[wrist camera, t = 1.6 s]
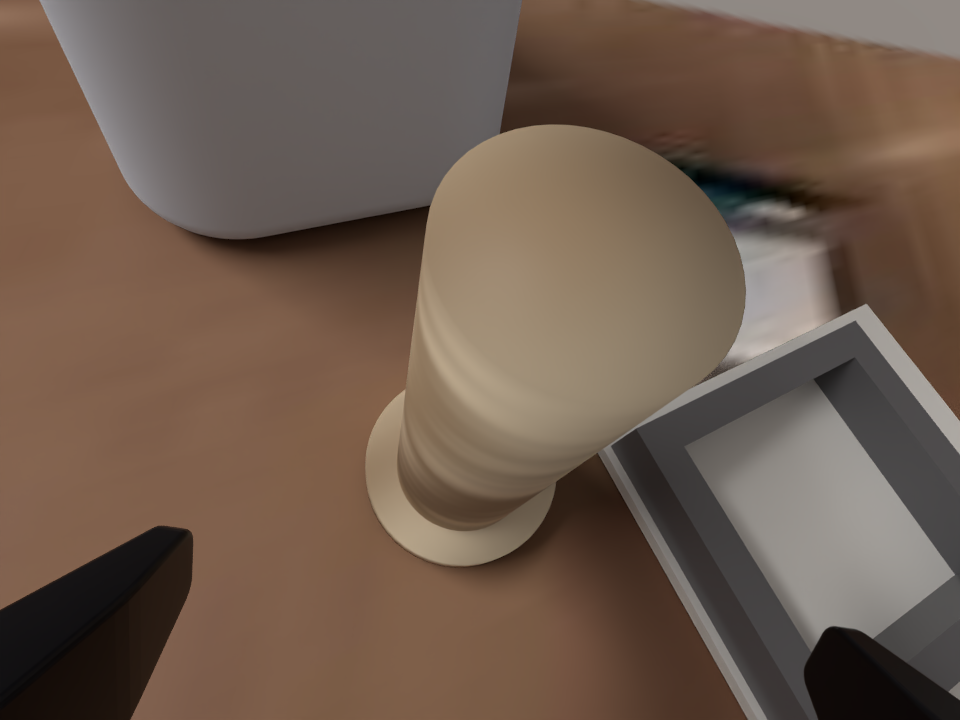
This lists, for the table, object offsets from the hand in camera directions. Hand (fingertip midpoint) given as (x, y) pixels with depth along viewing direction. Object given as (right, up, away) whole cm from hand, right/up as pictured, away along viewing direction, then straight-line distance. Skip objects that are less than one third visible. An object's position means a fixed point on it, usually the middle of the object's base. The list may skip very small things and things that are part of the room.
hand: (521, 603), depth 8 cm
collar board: (+14, -5, +13) cm, 20 cm away
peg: (-1, -1, +12) cm, 12 cm away
